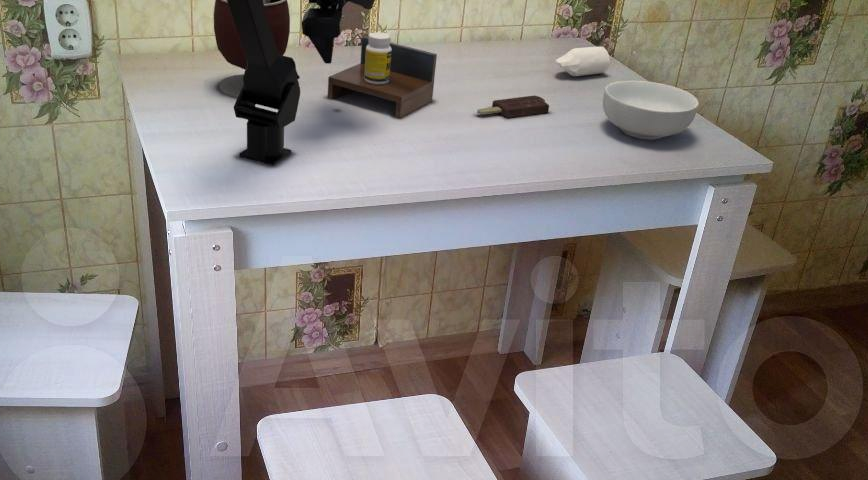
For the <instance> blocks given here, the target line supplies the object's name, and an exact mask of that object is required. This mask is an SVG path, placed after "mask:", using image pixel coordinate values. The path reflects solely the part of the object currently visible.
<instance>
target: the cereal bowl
mask: <svg viewBox="0 0 868 480" xmlns="http://www.w3.org/2000/svg"><path fill="white" fill-rule="evenodd" d="M698 108H699V100H698V98H697V97H696V96H695V95H693V94H691V93H690V92H688V91H686V90H685V89H682V88H679V87H677V86H673V85H669V84H665V83H660V82H654V81H646V80H631V79H629V80H619V81H613V82H611V83H608V84H607V85H606V86H605V88H604V92H603V97H602V109H603V112H604V115H605V116H606V118H607V119H608V120H609V121H610V122H611V123H612V124H613V125H614V126H616V127H618V128H619V129H620V130H621V131H622V132H623V133H624V134H626V135H627V136H629V137H632V138H637V139H639V140H641V139H642V140H649V141H650V140H652V141H654V140H659V139H663V138H665V137H670V136H674V135H677V134H680V133H682V132H683V131H685V130H686V129H687V128H688V127H690V125H691V124H692V123H693V122H694V120H695V117H696V115H697V113H698Z"/></svg>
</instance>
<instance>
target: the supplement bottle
mask: <svg viewBox="0 0 868 480" xmlns="http://www.w3.org/2000/svg"><path fill="white" fill-rule="evenodd" d="M368 37H369V39H368V43H369V44H368V45H367V47H366V57H365V74H364V80H365V81H366V82H368V83H370V84H386V83H388V82H389V79H390V65H391V52H392V49H391V47H390V46H389V45H390V43H392V42H391V40H392V39H391V34H389V33H386V32H378V31H375V32H370V33H369V34H368Z"/></svg>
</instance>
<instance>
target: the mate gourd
mask: <svg viewBox="0 0 868 480" xmlns="http://www.w3.org/2000/svg"><path fill="white" fill-rule="evenodd" d="M263 3H264V7H265V10H266V14H267V17H268V20H269V24H270V27H271V31H272V34H273V38H274V41H275V44H276V48H277V51H278V54H279V55H282V56H285V53H286V51H287V48H288V44H289V38H290V32H291V16H290V8H289V3H288V0H263ZM213 32H214V36H215V37H214V38H215V44H216V47H217V50H218V51H219V53H220V54H221V55H222V57H223V58H224V60H225V61H226V63H228V64H229V65H232V66H235V67H237V68H240V69H242V70H244V73H245V70H246V68H247V65H248V64H247V60H246V57H245V54H244V51H243V48H242V45H241V42H240V39H239V36H238V33H237V29H236V26H235V23H234V20H233V17H232V14H231V11H230V8H229V5H228V2H227V0H215V1H214V8H213ZM244 73H243V74H242V73H241V74H235V75H231V76H228V77H225V78H223V79H222V80H221V81H220V82H219V90H220V91H221V92H222V93H223V94H225V95H227V96H230V97H233V98H236V99H237V98H238V96H239V94H240V92H241V89H242V87H243V85H244V83H243V75H244Z"/></svg>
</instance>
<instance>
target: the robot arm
mask: <svg viewBox="0 0 868 480" xmlns="http://www.w3.org/2000/svg"><path fill="white" fill-rule="evenodd" d="M375 1H376V0H308V3H309V4H316V5H317V6H319V7H309V8H308V9H307V11H306V12H304V14H303V17H302V20H301V33H302V35H304V36H305V37H308V39H309V40H310V42H311V43H312V45H313V46H314V48H315V49H316V51H317V53H318V55H319V56H320V59H322V61H323V63H324V64H328V65H329V64H332V63H333V62H332V61H333V54H334V53H333V52H334V45H335V39H338V38H339V36H340V35H341V34H342V31H343V20H344V19H343V10H344V6H345V5H346V4H347V3H348V2H349V3H352V4H353V5H357V6H360V7H362V8H363V9H365V10H372V9H373V7H374V4H375ZM227 2H228V5H229V8H230V11H231V14H232V17H233V20H234V23H235V26H236V29H237V33H238V36H239V39H240V42H241V45H242V48H243V51H244V54H245V57H246V60H247V64H248V65H247V68H246V70H245V69H244V72H245V73H243V74H244V75H243V83H244V85H243V87H242V89H241V92H240V94H239V96H238V98H237V97H236V100H235V103H234V104H233V111H234V115H235V118H237V119H242V120H246V121H247V122H246V148H245V149H244V150H242V151H241V152H239V153H238V157H239V158H241V159H246V160H248V161H249V160H250V161H253V162H256V163H261V164H263V165H267V166H274V165H276V164H277V163H279V162H280V161H282V160H283V159H285V158H287V157H288V156H290V155H291V154H293V153H292V152H293V151H292V149H289V148H286V147H284V146H285V127H286V126H287V127H288V126H289V125H290V124H292V123H294V122H295V121H296V119H297V118H296V117H297V114H298V113H297V112H298V108H299V103H300V98H301V87H300V83H299V79H300V78H301V77H300V75H299V73H298V70H297V67H296V61H295V60H294V58H293V57H291V56H286V55H283V56H282V55H279V54H278V51H277V48H276V44H275V41H274V38H273V34H272V31H271V27H270V24H269V20H268V17H267V14H266V10H265V7H264V3H263V0H227ZM257 105H259V106H260V107H259V106H257ZM263 107H266V108H270V110H269V109H266V108H263ZM271 109H274V110H271ZM275 110H277V111H275Z"/></svg>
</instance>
